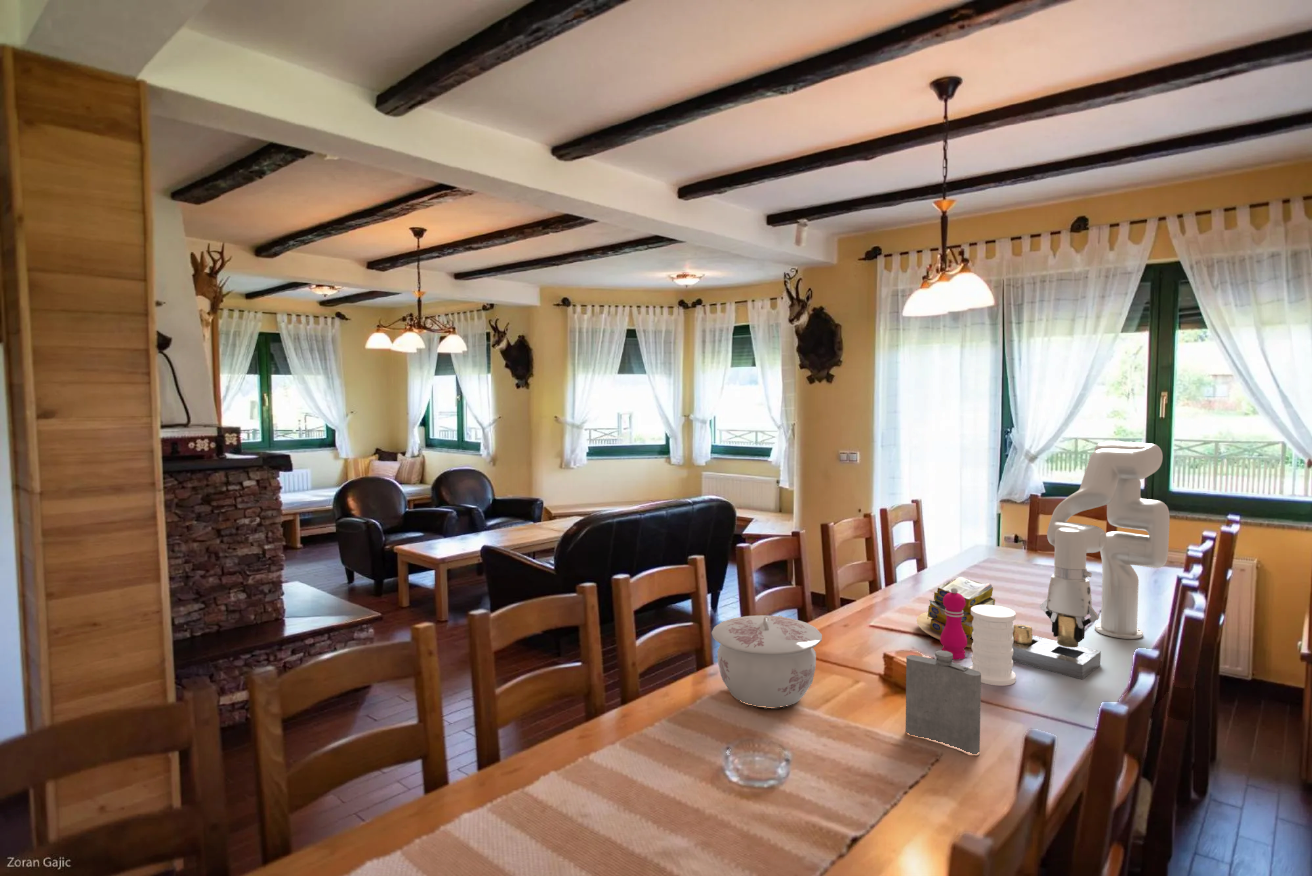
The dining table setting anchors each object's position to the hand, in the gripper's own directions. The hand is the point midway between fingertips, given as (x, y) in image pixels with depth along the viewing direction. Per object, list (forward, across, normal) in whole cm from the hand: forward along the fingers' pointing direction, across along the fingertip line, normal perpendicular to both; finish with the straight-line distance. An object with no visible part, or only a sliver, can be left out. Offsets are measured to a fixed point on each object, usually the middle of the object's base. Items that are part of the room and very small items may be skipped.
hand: (1067, 637), depth 198 cm
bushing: (+2, 0, 0) cm, 2 cm away
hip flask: (+9, +3, +65) cm, 65 cm away
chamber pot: (+9, +44, +75) cm, 87 cm away
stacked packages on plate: (+8, +32, -4) cm, 34 cm away
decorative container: (+9, +11, +22) cm, 26 cm away
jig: (+8, +6, 0) cm, 10 cm away
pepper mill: (+8, +25, +15) cm, 30 cm away
